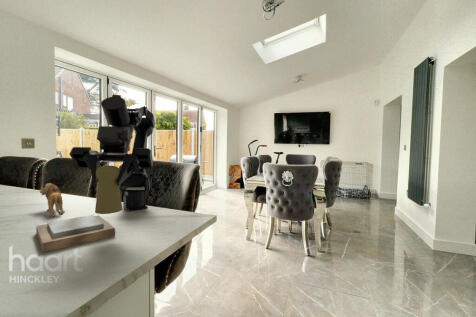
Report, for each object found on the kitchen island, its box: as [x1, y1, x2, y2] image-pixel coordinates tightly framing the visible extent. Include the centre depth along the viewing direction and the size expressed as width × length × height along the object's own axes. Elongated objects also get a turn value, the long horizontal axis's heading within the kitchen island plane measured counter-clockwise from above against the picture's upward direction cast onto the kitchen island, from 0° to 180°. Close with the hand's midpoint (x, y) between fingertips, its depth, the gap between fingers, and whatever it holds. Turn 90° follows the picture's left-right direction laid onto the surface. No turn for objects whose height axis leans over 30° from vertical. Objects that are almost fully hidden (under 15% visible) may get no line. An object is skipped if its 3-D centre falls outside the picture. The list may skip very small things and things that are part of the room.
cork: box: [94, 165, 124, 215], centre depth 58 cm, size 6×6×11 cm
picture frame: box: [35, 214, 116, 253], centre depth 60 cm, size 14×14×3 cm
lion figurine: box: [39, 182, 66, 217], centre depth 78 cm, size 15×5×9 cm, turn 52°
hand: (106, 184), depth 57 cm, fingers closed on cork, 5 cm apart
